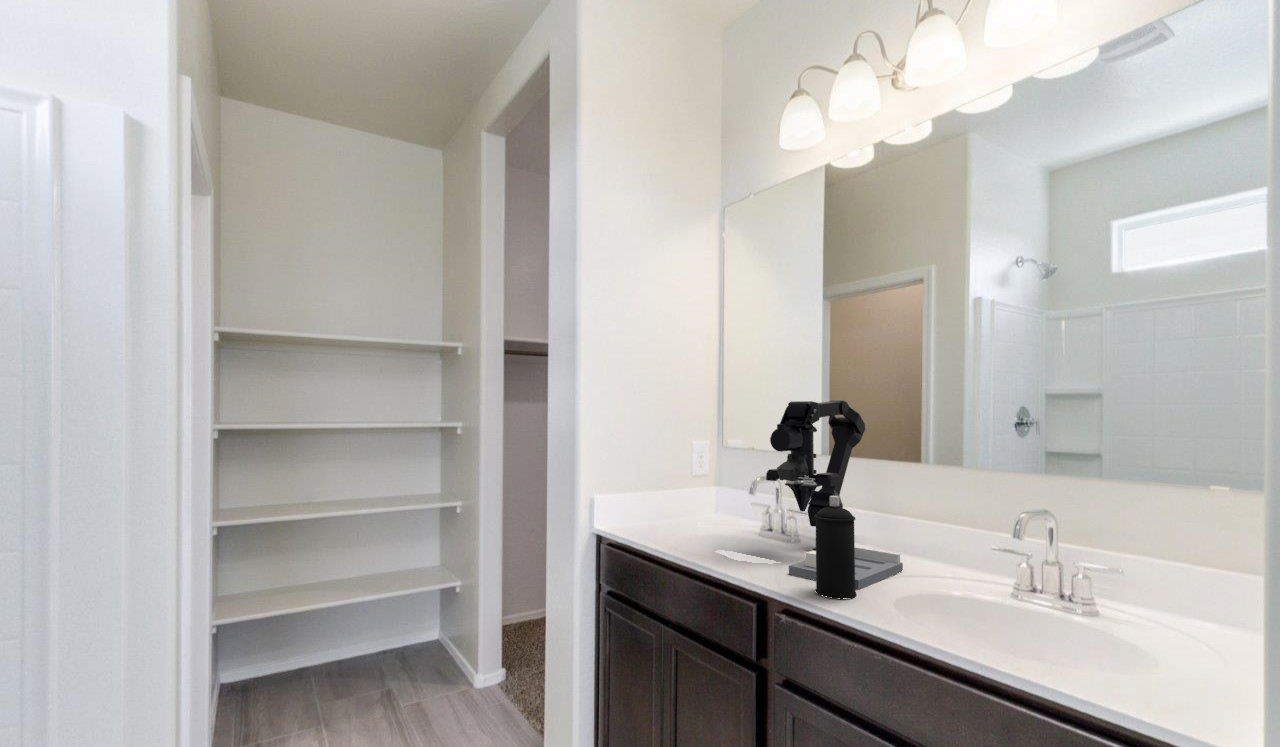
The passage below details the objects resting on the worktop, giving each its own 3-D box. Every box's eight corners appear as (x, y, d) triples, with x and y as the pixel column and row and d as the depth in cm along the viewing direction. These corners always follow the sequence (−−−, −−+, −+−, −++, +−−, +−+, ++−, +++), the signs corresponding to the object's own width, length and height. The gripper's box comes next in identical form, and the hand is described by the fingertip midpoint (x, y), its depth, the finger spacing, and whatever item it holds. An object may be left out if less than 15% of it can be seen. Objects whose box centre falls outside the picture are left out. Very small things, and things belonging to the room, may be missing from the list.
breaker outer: (813, 563, 147) (813, 550, 148) (824, 565, 145) (824, 552, 145) (805, 565, 145) (805, 552, 145) (817, 568, 143) (817, 554, 143)
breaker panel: (836, 558, 161) (836, 542, 161) (902, 571, 149) (902, 554, 149) (788, 574, 146) (788, 556, 146) (858, 589, 133) (858, 570, 134)
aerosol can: (859, 600, 126) (857, 499, 127) (816, 598, 127) (815, 498, 128) (853, 589, 134) (852, 494, 135) (813, 587, 135) (812, 493, 137)
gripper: (753, 449, 163) (753, 510, 163) (818, 453, 150) (819, 519, 149) (777, 447, 171) (778, 505, 170) (841, 451, 158) (842, 514, 157)
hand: (802, 511), depth 162 cm, fingers closed
